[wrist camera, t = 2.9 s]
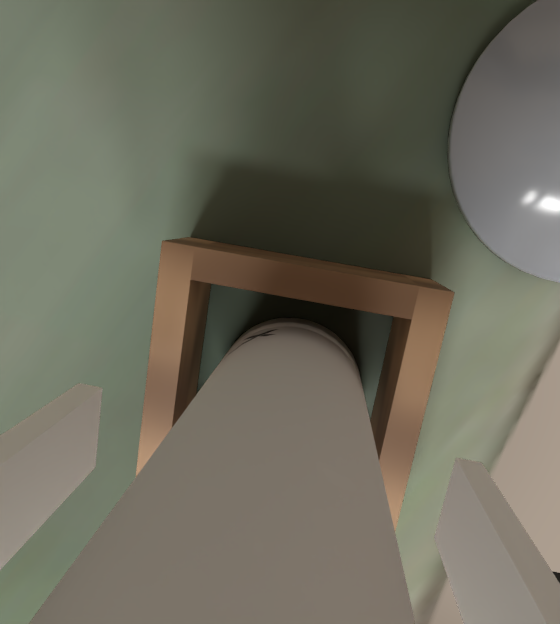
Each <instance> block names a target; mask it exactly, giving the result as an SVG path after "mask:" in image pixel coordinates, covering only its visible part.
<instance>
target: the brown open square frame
mask: <svg viewBox="0 0 560 624" xmlns="http://www.w3.org/2000/svg"><path fill="white" fill-rule="evenodd" d="M211 283H212V284H217V285H223V286H228V287H234V288H239V289H245V290H250V291H256V292H261V293H267V294H273V295H278V296H284V297H289V298H295V299H300V300H306V301H311V302H317V303H322V304H328V305H333V306H339V307H344V308H350V309H356V310H361V311H367V312H372V313H378V314H383V315H389V316H394V317H393V322H392V326H391V331H390V335H389V340H388V344H387V349H386V353H385V358H384V362H383V367H382V371H381V376H380V380H379V385H378V389H377V394H376V398H375V403H374V407H373V412H372V416H371V420H370V423H371V427H372V432H373V436H374V441H375V445H376V450H377V454H378V459H379V463H380V468H381V472H382V476H383V481H384V485H385V490H386V494H387V499H388V503H389V508H390V512H391V517H392V521H393V526H394V530H396V526H397V522H398V518H399V514H400V510H401V506H402V502H403V498H404V494H405V490H406V486H407V482H408V478H409V474H410V470H411V466H412V462H413V458H414V454H415V449H416V445H417V441H418V437H419V433H420V429H421V425H422V421H423V417H424V413H425V409H426V405H427V401H428V397H429V393H430V389H431V385H432V381H433V377H434V373H435V369H436V365H437V361H438V357H439V353H440V349H441V345H442V341H443V337H444V333H445V329H446V325H447V321H448V317H449V313H450V309H451V305H452V301H453V297H454V293H455V292H453V291H451V290H449V289H448V288H446V287H444V286H442V285H441V284H439V283H437V282H435V281H433V280H432V279H426V278H420V277H414V276H409V275H403V274H397V273H392V272H386V271H380V270H375V269H369V268H363V267H357V266H352V265H346V264H340V263H335V262H329V261H323V260H317V259H312V258H306V257H300V256H295V255H289V254H283V253H278V252H272V251H266V250H260V249H255V248H249V247H243V246H238V245H232V244H226V243H220V242H215V241H209V240H203V239H198V238H192V237H187V238H180V239H172V240H165V241H162V245H161V254H160V263H159V272H158V281H157V290H156V299H155V308H154V317H153V326H152V335H151V344H150V353H149V362H148V371H147V380H146V389H145V398H144V407H143V416H142V425H141V434H140V443H139V452H138V461H137V470H136V476H137V475H138V474H139V472H140V471H141V470H142V468H143V467H144V466H145V464H146V463H147V461H148V460H149V459H150V457H151V456H152V455H153V453H154V452H155V450H156V449H157V448H158V446H159V445H160V444H161V442H162V441H163V440H164V438H165V437H166V435H167V434H168V433H169V431H170V430H171V429H172V427H173V426H174V425H175V423H176V422H177V420H178V419H179V418H180V416H181V415H182V414H183V412H184V411H185V410H186V408H187V407H188V405H189V404H190V403H191V401H192V400H193V399H194V397H195V396H196V392H197V385H198V377H199V370H200V362H201V355H202V348H203V340H204V333H205V326H206V318H207V311H208V304H209V296H210V289H211Z"/></svg>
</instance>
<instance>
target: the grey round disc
mask: <svg viewBox="0 0 560 624" xmlns="http://www.w3.org/2000/svg"><path fill="white" fill-rule="evenodd" d="M447 159H448V169H449V177H450V182H451V186H452V190H453V194H454V197H455V199H456V202H457V204H458V207H459V210H460V212H461V213H462V215H463V217H464V219H465V221H466V222H467V224H468V226H469V227H470V229H471V230H472V231H473V233H474V234H475V235H476V236H477V238H478V239H479V240H480V241H481V242H482V243H483V244H484V245H485V246H486V247H487V248H488V249H489V250H490V251H491V252H492V253H494V254H495V255H496V256H498V257H499V258H500V259H502V260H503V261H504V262H506V263H508V264H509V265H511V266H513V267H515V268H517V269H519V270H520V271H523V272H526V273H528V274H531V275H533V276H536V277H539V278H543V279H547V280H551V281H555V282H560V0H538V1H536V2H534V3H533V4H531V5H530V6H528V7H527V8H526V9H525V10H523V11H522V12H521V13H520V14H519V15H517V16H516V17H515V18H514V19H513V20H511V21H510V22H509V23H508V24H507V25H506V26H505V27H504V28H503V30H502V31H501V32H500V33H499V34H498V35H497V36H496V37H495V38H494V39H493V40H492V41H491V42H490V43H489V44H488V46H487V47H486V48H485V50H484V51H483V52H482V54H481V55H480V56H479V58H478V59H477V60H476V62H475V64H474V65H473V67H472V69H471V70H470V72H469V74H468V76H467V77H466V79H465V81H464V84H463V86H462V88H461V90H460V93H459V95H458V97H457V100H456V104H455V107H454V110H453V114H452V117H451V122H450V129H449V135H448V152H447Z"/></svg>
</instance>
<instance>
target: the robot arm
mask: <svg viewBox="0 0 560 624" xmlns="http://www.w3.org/2000/svg"><path fill="white" fill-rule="evenodd" d="M101 398H102V388H101V387H96V386H91V385H86V384H80V383H78V384H77V385H75V386H74V387H72V388H71V389H69V390H68V391H66V392H65V393H63V394H62V395H60V396H59V397H57V398H56V399H54V400H53V401H51V402H50V403H48V404H47V405H45V406H44V407H42V408H41V409H39V410H38V411H36V412H35V413H33V414H32V415H30V416H29V417H27V418H26V419H24V420H23V421H21V422H20V423H18V424H17V425H15V426H14V427H12V428H11V429H9V430H8V431H6V432H5V433H3V434H2V435H0V570H1V569H2V568H3V567H4V565H5V564H6V563H7V562H8V561H9V560H10V559H11V558H12V557H13V556H14V555H15V554H16V552H17V551H18V550H19V549H20V548H21V547H22V546H23V545H24V544H25V543H26V542H27V541H28V539H29V538H30V537H31V536H32V535H33V534H34V533H35V532H36V531H37V530H38V529H39V528H40V526H41V525H42V524H43V523H44V522H45V521H46V520H47V519H48V518H49V517H50V516H51V515H52V514H53V512H54V511H55V510H56V509H57V508H58V507H59V506H60V505H61V504H62V503H63V502H64V501H65V499H66V498H67V497H68V496H69V495H70V494H71V493H72V492H73V491H74V490H75V489H76V488H77V486H78V485H79V484H80V483H81V482H82V481H83V480H84V479H85V478H86V477H87V476H88V475H89V474H90V472H91V471H92V470H93V469H94V468H95V464H96V453H97V442H98V431H99V420H100V409H101ZM434 538H435V541H436V544H437V547H438V550H439V553H440V556H441V559H442V562H443V565H444V568H445V571H446V573H447V576H448V579H449V582H450V585H451V588H452V591H453V594H454V597H455V599H456V603H457V605H458V608H459V611H460V614H461V617H462V620H463V623H464V624H560V573H557V572H552V571H551V569H550V568H549V566H548V564H547V563H546V561H545V560H544V558H543V557H542V555H541V554H540V552H539V551H538V549H537V547H536V546H535V544H534V543H533V541H532V540H531V538H530V537H529V535H528V533H527V532H526V530H525V529H524V527H523V526H522V524H521V523H520V521H519V519H518V518H517V516H516V515H515V513H514V512H513V510H512V509H511V507H510V505H509V504H508V502H507V501H506V499H505V498H504V496H503V495H502V493H501V491H500V490H499V488H498V487H497V485H496V484H495V482H494V481H493V479H492V478H491V476H490V474H489V473H488V471H487V470H486V468H485V467H484V465H483V464H482V463H481V462H476V461H471V460H466V459H461V458H456V459H455V463H454V466H453V470H452V474H451V477H450V481H449V485H448V489H447V492H446V496H445V500H444V503H443V507H442V511H441V515H440V518H439V522H438V526H437V529H436V533H435V537H434Z"/></svg>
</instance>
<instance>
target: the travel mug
mask: <svg viewBox="0 0 560 624" xmlns="http://www.w3.org/2000/svg"><path fill="white" fill-rule="evenodd" d="M29 624H415V620H414V615H413V611H412V606H411V602H410V597H409V593H408V588H407V584H406V579H405V575H404V571H403V566H402V562H401V557H400V553H399V548H398V544H397V539H396V535H395V530H394V526H393V521H392V517H391V512H390V508H389V503H388V499H387V494H386V490H385V485H384V481H383V476H382V472H381V468H380V463H379V459H378V454H377V450H376V445H375V441H374V436H373V432H372V427H371V423H370V418H369V414H368V409H367V405H366V400H365V396H364V391H363V387H362V382H361V378H360V374H359V369H358V366H357V363H356V361H355V359H354V356H353V354H352V353H351V351H350V350H349V348H348V347H347V346H346V344H345V343H344V342H343V341H342V340H341V339H340V338H339V337H338V336H337V335H336V334H335V333H333V332H332V331H330V330H329V329H327V328H325V327H324V326H322V325H320V324H317V323H315V322H312V321H309V320H305V319H299V318H278V319H273V320H268V321H265V322H263V323H260V324H258V325H256V326H254V327H252V328H251V329H249V330H248V331H246V332H245V333H244V334H242V335H241V337H240V338H239V339H238V340H237V341H236V342H235V343H234V344H233V345H232V347H231V348H230V349H229V351H228V352H227V354H226V355H225V356H224V358H223V359H222V360H221V362H220V363H219V364H218V366H217V367H216V369H215V370H214V371H213V373H212V374H211V375H210V377H209V378H208V379H207V381H206V382H205V384H204V385H203V386H202V388H201V389H200V390H199V392H198V393H197V394H196V396H195V397H194V399H193V400H192V401H191V403H190V404H189V405H188V407H187V408H186V410H185V411H184V412H183V414H182V415H181V416H180V418H179V419H178V420H177V422H176V423H175V425H174V426H173V427H172V429H171V430H170V431H169V433H168V434H167V435H166V437H165V438H164V440H163V441H162V442H161V444H160V445H159V446H158V448H157V449H156V450H155V452H154V453H153V455H152V456H151V457H150V459H149V460H148V461H147V463H146V464H145V466H144V467H143V468H142V470H141V471H140V472H139V474H138V475H137V476H136V478H135V479H134V481H133V482H132V483H131V485H130V486H129V487H128V489H127V490H126V491H125V493H124V494H123V496H122V497H121V498H120V500H119V501H118V502H117V504H116V505H115V507H114V508H113V509H112V511H111V512H110V513H109V515H108V516H107V517H106V519H105V520H104V522H103V523H102V524H101V526H100V527H99V528H98V530H97V531H96V532H95V534H94V535H93V537H92V538H91V539H90V541H89V542H88V543H87V545H86V546H85V548H84V549H83V550H82V552H81V553H80V554H79V556H78V557H77V558H76V560H75V561H74V563H73V564H72V565H71V567H70V568H69V569H68V571H67V572H66V573H65V575H64V576H63V578H62V579H61V580H60V582H59V583H58V584H57V586H56V587H55V589H54V590H53V591H52V593H51V594H50V595H49V597H48V598H47V599H46V601H45V602H44V604H43V605H42V606H41V608H40V609H39V610H38V612H37V613H36V614H35V616H34V617H33V619H32V620H31V621H30V623H29Z"/></svg>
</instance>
